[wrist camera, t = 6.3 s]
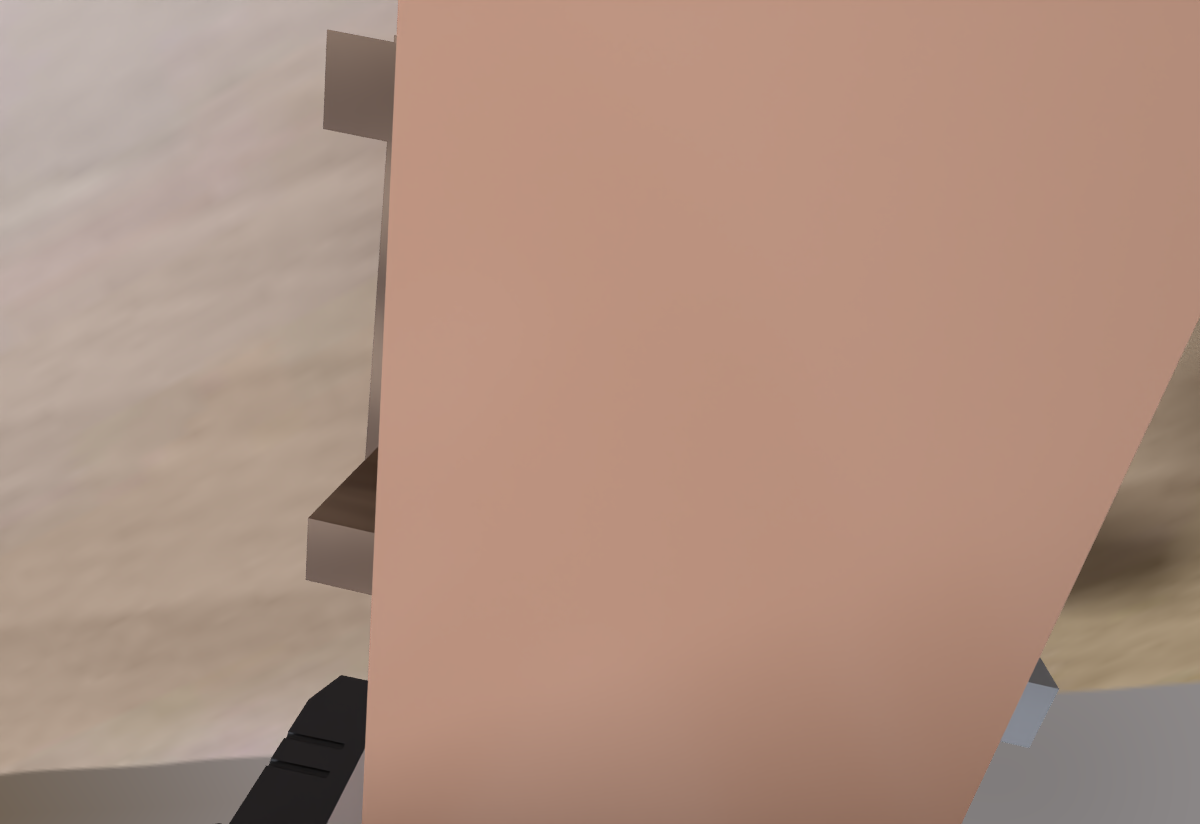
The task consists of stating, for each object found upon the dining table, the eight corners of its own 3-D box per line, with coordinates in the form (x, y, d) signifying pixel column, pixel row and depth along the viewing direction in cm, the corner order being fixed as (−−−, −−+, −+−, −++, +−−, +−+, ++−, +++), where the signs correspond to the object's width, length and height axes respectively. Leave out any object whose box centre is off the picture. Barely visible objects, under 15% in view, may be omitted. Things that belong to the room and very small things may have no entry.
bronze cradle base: (407, 37, 27) (309, 15, 21) (661, 86, 27) (644, 79, 20) (373, 489, 34) (291, 582, 27) (575, 535, 34) (542, 640, 27)
